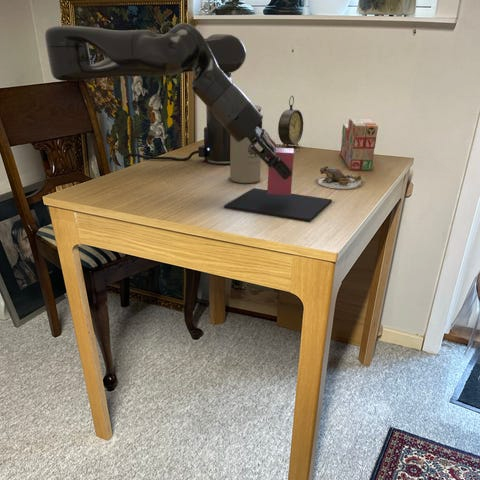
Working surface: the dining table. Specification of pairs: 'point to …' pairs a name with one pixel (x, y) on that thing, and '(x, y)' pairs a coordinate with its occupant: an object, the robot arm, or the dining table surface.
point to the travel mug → (244, 160)
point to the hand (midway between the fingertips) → (288, 173)
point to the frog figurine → (339, 179)
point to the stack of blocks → (359, 143)
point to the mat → (279, 204)
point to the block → (274, 179)
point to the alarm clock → (290, 126)
